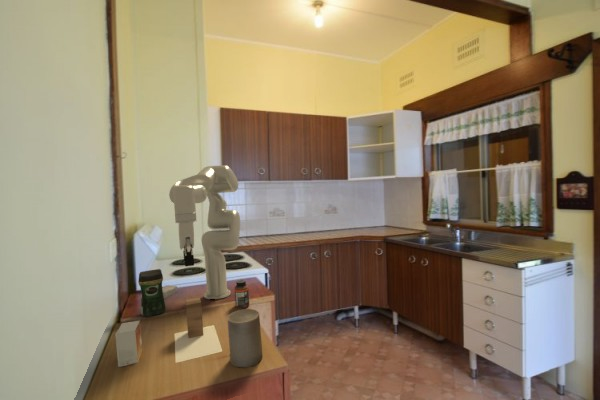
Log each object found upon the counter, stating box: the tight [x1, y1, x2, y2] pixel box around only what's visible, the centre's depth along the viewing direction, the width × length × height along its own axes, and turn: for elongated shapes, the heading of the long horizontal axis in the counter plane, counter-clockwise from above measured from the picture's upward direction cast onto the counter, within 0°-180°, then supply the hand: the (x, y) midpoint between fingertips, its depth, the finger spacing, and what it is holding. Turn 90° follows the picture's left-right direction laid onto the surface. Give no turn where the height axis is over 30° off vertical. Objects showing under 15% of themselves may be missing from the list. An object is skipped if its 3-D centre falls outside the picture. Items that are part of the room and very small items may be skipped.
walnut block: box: [185, 297, 204, 338], centre depth 113 cm, size 5×5×12 cm
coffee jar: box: [137, 268, 167, 317], centre depth 135 cm, size 10×8×19 cm
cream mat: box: [174, 324, 223, 364], centre depth 108 cm, size 21×14×1 cm, turn 22°
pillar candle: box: [226, 308, 263, 368], centre depth 96 cm, size 10×10×15 cm
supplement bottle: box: [234, 279, 250, 309], centre depth 138 cm, size 6×6×11 cm
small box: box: [114, 320, 143, 368], centre depth 99 cm, size 8×6×10 cm
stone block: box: [162, 284, 179, 300], centre depth 158 cm, size 12×5×10 cm
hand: (188, 262), depth 121 cm, fingers open, 8 cm apart
